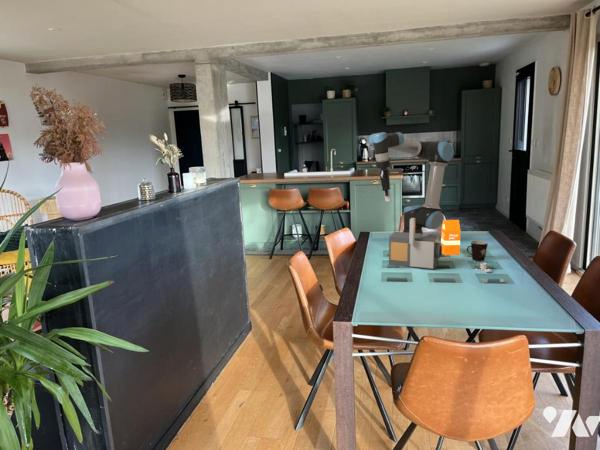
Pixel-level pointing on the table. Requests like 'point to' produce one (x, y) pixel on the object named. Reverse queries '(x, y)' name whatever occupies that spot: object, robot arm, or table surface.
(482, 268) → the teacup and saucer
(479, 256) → the coffee mug
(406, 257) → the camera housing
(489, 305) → the table surface
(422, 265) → the side door
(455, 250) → the orange juice
